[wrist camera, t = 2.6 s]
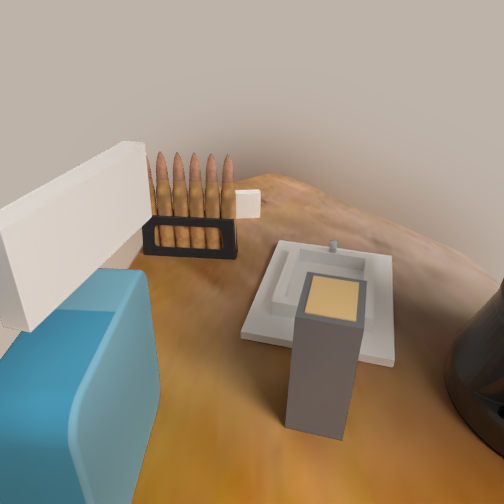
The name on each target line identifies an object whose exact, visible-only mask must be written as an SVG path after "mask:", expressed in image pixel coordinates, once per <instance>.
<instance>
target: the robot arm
mask: <svg viewBox="0 0 504 504" xmlns="http://www.w3.org/2000/svg"><path fill="white" fill-rule="evenodd" d="M151 217H152V211H151V201H150V191H149V181H148V171H147V160H146V150H145V143H142V142H133V141H122V142H120V143H119V144H117V145H115V146H113V147H112V148H110V149H108V150H106V151H104V152H103V153H101V154H99V155H97V156H95V157H93V158H92V159H90V160H88V161H86V162H84V163H83V164H81V165H79V166H77V167H75V168H74V169H72V170H70V171H68V172H67V173H64V174H63V175H61V176H59V177H57V178H55V179H54V180H52V181H50V182H48V183H47V184H45V185H43V186H41V187H40V188H37V189H36V190H34V191H32V192H30V193H29V194H27V195H25V196H23V197H22V198H19V199H18V200H16V201H14V202H12V203H10V204H9V205H7V206H5V207H3V208H2V209H0V318H1V321H2V324H3V327H7V328H12V329H16V330H21V331H25V332H30V333H31V332H32V331H33V330H34V329H35V328H36V327H37V326H38V325H39V324H40V323H41V322H42V321H43V320H44V319H45V318H46V317H47V316H48V315H50V314H51V313H52V312H53V311H54V310H55V309H56V308H57V307H58V306H59V305H60V304H61V303H62V302H63V301H64V300H65V299H66V298H67V297H68V296H69V295H71V294H72V293H73V292H74V291H75V290H76V289H77V288H78V287H79V286H80V285H81V284H82V283H83V282H84V281H85V280H86V279H87V278H88V277H89V276H90V275H92V274H93V273H94V272H95V271H96V270H97V269H98V268H99V267H100V266H101V265H102V264H103V263H104V262H105V261H106V260H107V259H108V258H109V257H110V256H112V255H113V254H114V252H116V251H117V250H118V249H119V248H120V247H121V246H122V245H123V244H124V243H125V242H126V241H127V240H128V239H129V238H130V237H131V236H133V235H134V234H135V233H136V232H137V231H138V230H139V229H140V228H141V227H142V226H143V225H144V224H145V223H146V222H147V221H148V220H149V219H150V218H151ZM445 382H446V386H447V390H448V392H449V395H450V397H451V399H452V401H453V403H454V405H455V407H456V408H457V410H458V411H459V413H460V414H461V416H462V417H463V418H464V420H465V421H466V422H467V423H468V425H469V426H470V427H471V428H472V429H473V430H474V431H475V432H476V433H477V434H478V435H479V436H480V437H481V438H482V439H483V440H484V441H485V442H486V443H487V444H489V445H490V446H491V447H492V448H493V449H495V450H496V451H497V452H498V453H500V454H501V455H502V456H504V279H503V281H502V283H501V286H500V288H499V290H498V291H497V292H496V293H495V294H494V296H493V297H492V298H491V299H490V300H489V301H488V302H487V303H486V304H485V305H484V306H483V307H482V308H481V309H480V310H479V311H478V313H477V314H476V315H475V316H474V317H473V318H472V319H471V320H470V321H469V322H468V323H467V324H466V325H465V327H464V328H463V329H462V330H461V331H460V332H459V333H458V334H457V336H456V338H455V340H454V341H453V344H452V346H451V349H450V352H449V355H448V358H447V361H446V365H445Z"/></svg>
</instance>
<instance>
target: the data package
mask: <svg viewBox="0 0 504 504" xmlns="http://www.w3.org/2000/svg"><path fill="white" fill-rule="evenodd" d="M159 398H160V376H159V368H158V360H157V352H156V344H155V336H154V328H153V320H152V312H151V304H150V296H149V288H148V281H147V277H146V274H145V273H144V272H143V271H142V270H132V269H106V268H98V269H97V270H96V271H95V272H94V273H93V274H92V275H90V276H89V277H88V278H87V279H86V280H85V281H84V282H83V283H82V284H81V285H80V286H79V287H78V288H77V289H76V290H75V291H74V292H73V293H72V294H71V295H69V296H68V297H67V298H66V299H65V300H64V301H63V302H62V303H61V304H60V305H59V306H58V307H57V308H56V309H55V310H54V311H53V312H52V313H51V314H50V315H48V316H47V317H46V318H45V319H44V320H43V321H42V322H41V323H40V324H39V325H38V326H37V327H36V328H35V329H34V330H33V331H32V332H31V333H30V332H25V331H21V333H20V334H19V335H18V337H17V338H16V339H15V341H14V342H13V343H12V345H11V346H10V348H9V349H8V350H7V351H6V353H5V354H4V356H3V357H2V358H1V360H0V504H131V502H132V498H133V495H134V491H135V487H136V484H137V480H138V477H139V473H140V470H141V466H142V462H143V459H144V455H145V452H146V448H147V444H148V441H149V437H150V434H151V430H152V427H153V423H154V419H155V416H156V412H157V409H158V404H159Z"/></svg>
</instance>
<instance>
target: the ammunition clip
mask: <svg viewBox="0 0 504 504" xmlns="http://www.w3.org/2000/svg"><path fill="white" fill-rule="evenodd" d="M146 160H147V171H148V181H149V191H150V201H151V211H152V217H151V218H150V219H149V220H148V221H147V222H146V223H145V224H144V225H143V226H142V234H143V249H144V255H157V256H176V257H195V258H214V259H236V257H237V252H238V248H237V229H236V193H235V188H234V173H233V165H232V161H231V158H230V156H229V155H228V154H227V156H226V158H225V161H224V165H223V181H222V190H221V212H220V193H219V188H218V180H217V169H216V163H215V160H214V157H213V155H212V154H210V155H209V158H208V161H207V166H206V188H205V211H204V193H203V188H202V183H201V172H200V166H199V161H198V158H197V156H196V154H195V153H193V155H192V158H191V161H190V173H189V174H190V179H189V181H190V184H189V207H188V193H187V188H186V183H185V176H184V168H183V163H182V160H181V157H180V155H179V153H176V154H175V157H174V164H173V192H172V193H173V206H172V195H171V189H170V185H169V179H168V172H167V167H166V162H165V159H164V156H163V154H162V153H161V152H159V153H158V156H157V162H156V176H157V179H156V180H157V187H156V197H155V189H154V186H153V183H152V177H151V169H150V165H149V161H148V158H147V156H146ZM156 198H157V205H156ZM173 208H174V209H173ZM174 226H175V229H174ZM205 227H206V236H205ZM159 230H160V233H159ZM190 232H191V237H190ZM175 236H176V239H175Z"/></svg>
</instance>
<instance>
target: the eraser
mask: <svg viewBox="0 0 504 504" xmlns="http://www.w3.org/2000/svg"><path fill="white" fill-rule="evenodd" d="M235 193H236V218H260V201H261V192H260V190H235Z"/></svg>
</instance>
